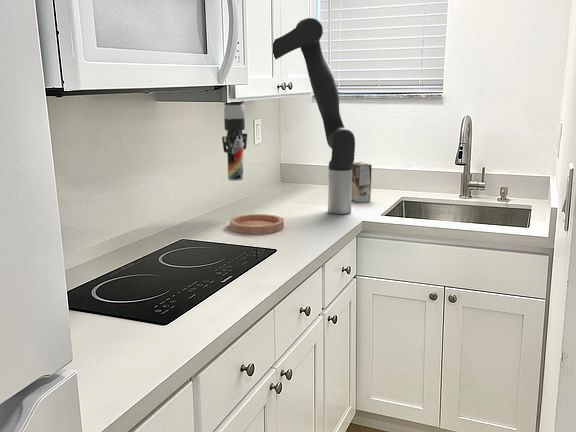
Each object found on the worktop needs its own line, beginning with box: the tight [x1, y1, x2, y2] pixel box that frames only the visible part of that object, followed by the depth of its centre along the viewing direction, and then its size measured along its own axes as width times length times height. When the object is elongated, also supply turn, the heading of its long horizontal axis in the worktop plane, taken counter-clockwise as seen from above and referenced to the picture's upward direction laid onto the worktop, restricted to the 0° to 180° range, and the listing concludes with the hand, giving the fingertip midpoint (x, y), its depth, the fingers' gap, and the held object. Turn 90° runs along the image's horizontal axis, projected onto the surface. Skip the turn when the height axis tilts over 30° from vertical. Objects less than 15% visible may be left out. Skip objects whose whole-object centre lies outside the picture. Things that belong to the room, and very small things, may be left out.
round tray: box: [229, 213, 285, 235], centre depth 206 cm, size 19×19×3 cm
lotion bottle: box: [226, 131, 244, 182], centre depth 216 cm, size 6×6×20 cm
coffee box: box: [351, 162, 373, 203], centre depth 250 cm, size 9×6×16 cm
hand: (235, 162), depth 217 cm, fingers closed on lotion bottle, 5 cm apart
